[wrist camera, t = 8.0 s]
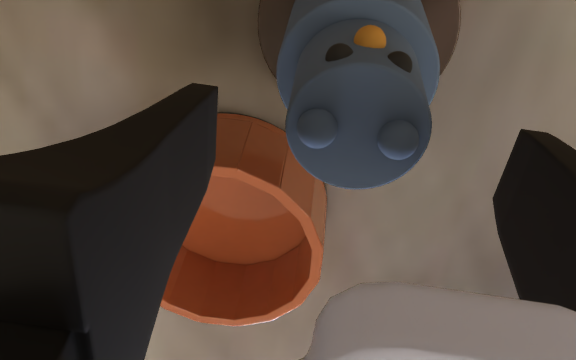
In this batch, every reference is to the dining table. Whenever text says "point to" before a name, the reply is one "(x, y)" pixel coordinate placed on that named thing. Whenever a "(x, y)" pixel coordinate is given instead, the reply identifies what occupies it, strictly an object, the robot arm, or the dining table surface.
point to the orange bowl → (250, 231)
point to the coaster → (437, 3)
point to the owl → (358, 88)
